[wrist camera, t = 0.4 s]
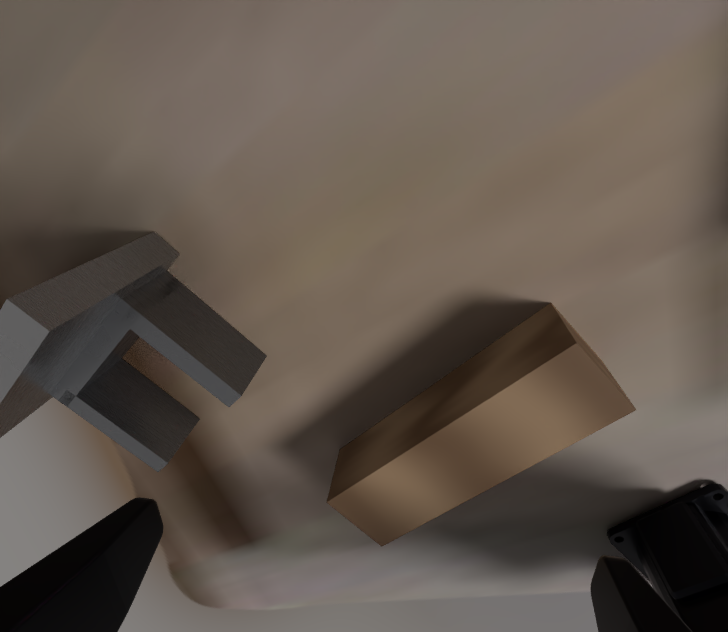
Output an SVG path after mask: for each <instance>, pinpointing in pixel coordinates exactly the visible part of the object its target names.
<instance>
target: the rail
mask: <svg viewBox="0 0 728 632" xmlns="http://www.w3.org/2000/svg"><path fill="white" fill-rule="evenodd" d="M635 410H636V409H635V407H634V406H633V405H632V403H631V402H630V400H629V399H628V397H627V396H626V394H625V393H624V392H623V390H622V389H621V387H620V386H619V384H618V383H617V382H616V380H615V379H614V377H613V376H612V374H611V373H610V372H609V370H608V369H607V367H606V366H605V364H604V363H603V362H602V360H601V359H600V358H599V357H598V356H597V355H596V353H595V352H594V351H593V350H592V349H591V348H590V347H589V345H588V344H587V343H586V342H585V341H584V340H583V339H582V337H581V336H580V335H579V334H578V333H577V332H576V331H575V329H574V328H573V327H572V326H571V325H570V324H569V323H568V322H567V320H566V319H565V318H564V317H563V316H562V315H561V314H560V312H559V311H558V310H557V309H556V308H555V307H554V306H553V304H552V303H550V304H548V305H547V306H545V307H544V308H542V309H541V310H540V311H538V312H537V313H535V314H534V315H532V316H531V317H529V318H528V319H527V320H525V321H524V322H522V323H521V324H519V325H518V326H517V327H515V328H514V329H512V330H511V331H509V332H508V333H506V334H505V335H504V336H502V337H501V338H499V339H498V340H496V341H495V342H494V343H492V344H491V345H489V346H488V347H486V348H485V349H483V350H482V351H481V352H479V353H478V354H476V355H475V356H473V357H472V358H471V359H469V360H468V361H466V362H465V363H463V364H462V365H460V366H459V367H458V368H456V369H455V370H453V371H452V372H450V373H449V374H448V375H446V376H445V377H443V378H442V379H440V380H439V381H438V382H436V383H435V384H433V385H432V386H430V387H429V388H427V389H426V390H425V391H423V392H422V393H420V394H419V395H417V396H416V397H415V398H413V399H412V400H410V401H409V402H407V403H406V404H404V405H403V406H402V407H400V408H399V409H397V410H396V411H394V412H393V413H392V414H390V415H389V416H387V417H386V418H384V419H383V420H381V421H380V422H379V423H377V424H376V425H374V426H373V427H371V428H370V429H369V430H367V431H366V432H364V433H363V434H361V435H360V436H358V437H357V438H356V439H354V440H353V441H351V442H350V443H348V444H347V445H346V446H344V447H343V448H341V449H340V451H339V455H338V459H337V463H336V467H335V471H334V475H333V479H332V483H331V487H330V491H329V495H328V499H327V503H328V504H329V505H330V506H332V507H333V508H334V509H335V510H337V511H338V512H339V513H340V514H342V515H343V516H344V517H345V518H347V519H348V520H349V521H350V522H352V523H353V524H354V525H355V526H357V527H358V528H359V529H360V530H362V531H363V532H364V533H365V534H367V535H368V536H369V537H370V538H372V539H373V540H374V541H375V542H377V543H378V544H379V545H380V546H384V545H386V544H387V543H389V542H391V541H393V540H395V539H397V538H399V537H400V536H402V535H404V534H406V533H408V532H410V531H412V530H414V529H415V528H417V527H419V526H421V525H423V524H425V523H427V522H428V521H430V520H432V519H434V518H436V517H438V516H440V515H441V514H443V513H445V512H447V511H449V510H451V509H453V508H455V507H456V506H458V505H460V504H462V503H464V502H466V501H468V500H469V499H471V498H473V497H475V496H477V495H479V494H481V493H482V492H484V491H486V490H488V489H490V488H492V487H494V486H495V485H497V484H499V483H501V482H503V481H505V480H507V479H509V478H510V477H512V476H514V475H516V474H518V473H520V472H522V471H523V470H525V469H527V468H529V467H531V466H533V465H535V464H536V463H538V462H540V461H542V460H544V459H546V458H548V457H549V456H551V455H553V454H555V453H557V452H559V451H561V450H563V449H564V448H566V447H568V446H570V445H572V444H574V443H576V442H577V441H579V440H581V439H583V438H585V437H587V436H589V435H590V434H592V433H594V432H596V431H598V430H600V429H602V428H603V427H605V426H607V425H609V424H611V423H613V422H615V421H617V420H618V419H620V418H622V417H624V416H626V415H628V414H630V413H631V412H633V411H635Z"/></svg>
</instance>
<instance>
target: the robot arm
mask: <svg viewBox="0 0 728 632" xmlns="http://www.w3.org/2000/svg"><path fill="white" fill-rule="evenodd" d="M162 533H163V523H162V519H161V516H160V512H159V509H158V506H157V503H156V501H155V500H153V499H147V498H135V499H133V500H131V501H129V502H128V503H126V504H125V505H123V506H122V507H120V508H119V509H117V510H116V511H114V512H113V513H111V514H110V515H108V516H107V517H105V518H104V519H102V520H101V521H99V522H98V523H96V524H95V525H93V526H92V527H90V528H89V529H87V530H85V531H84V532H82V533H81V534H79V535H78V536H76V537H75V538H74V539H72V540H70V541H69V542H67V543H66V544H65V545H63V546H61V547H60V548H58V549H57V550H55V551H54V552H52V553H51V554H49V555H48V556H46V557H45V558H43V559H42V560H40V561H39V562H37V563H36V564H34V565H33V566H31V567H30V568H28V569H27V570H25V571H24V572H22V573H21V574H19V575H18V576H16V577H15V578H13V579H12V580H10V581H8V582H7V583H6V584H4V585H3V586H1V587H0V632H118V630H119V628H120V626H121V624H122V622H123V620H124V619H125V617H126V615H127V613H128V611H129V609H130V607H131V605H132V602H133V600H134V598H135V595H136V594H137V591H138V589H139V587H140V584H141V582H142V580H143V578H144V575H145V573H146V571H147V569H148V566H149V564H150V562H151V560H152V557H153V555H154V553H155V551H156V548H157V546H158V544H159V542H160V539H161V537H162ZM607 536H608V538H609V541H610V542H611V544H612V545H614V546H615V547H616V548H617V549H618V550H619V551H620V552H621V553H622V554H623V555H624V556H625V557H626V558H627V559H628V560H629V561H630V562H632V563H633V564H634V565H635V566H636V567H637V568H638V569H639V570H640V571H641V572H642V573H643V574H644V575H645V576H646V577H647V578H648V579H649V580H650V582H651V584H652V587H653V588H652V587H651V585H650V584H649V583H648V582H647V581H646V580H645V579H644V578H643V577H642V576H641V574H640V573H639V572H638V571H637V570H636V569H635V568H634V567H633V566H632V565H631V563H630V562H629V561H627V560H626V559H624V558H621V557H615V556H606V555H603V556H601V557H600V558H599V560H598V563H597V566H596V569H595V572H594V575H593V578H592V582H591V596H592V602H593V607H594V612H595V617H596V622H597V627H598V632H728V491H727V490H726V489H725V488H724V487H723V486H722V485H720V484H711V485H708V486H705V487H703V488H701V489H699V490H696V491H694V492H692V493H690V494H687V495H685V496H683V497H681V498H678V499H676V500H674V501H672V502H669V503H667V504H665V505H663V506H660V507H658V508H656V509H654V510H651V511H649V512H647V513H645V514H642V515H640V516H638V517H636V518H633V519H631V520H629V521H627V522H624V523H622V524H620V525H618V526H615V527H613V528H611V529H609V530H608V532H607Z"/></svg>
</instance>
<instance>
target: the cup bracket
mask: <svg viewBox="0 0 728 632" xmlns="http://www.w3.org/2000/svg"><path fill="white" fill-rule="evenodd" d="M178 255H179V253H178V252H177V251H176V250H175V249H174V248H173V247H171V246H170V245H169V244H168V243H167V242H166V241H165V240H163V239H162V238H161V237H160V236H159V235H158V234H156V233H155V232H152V233H150V234H148V235H145V236H143V237H141V238H139V239H137V240H135V241H132V242H130V243H128V244H126V245H124V246H122V247H119V248H117V249H115V250H113V251H111V252H108V253H106V254H104V255H102V256H100V257H98V258H95V259H93V260H91V261H89V262H87V263H84V264H82V265H80V266H78V267H76V268H74V269H71V270H69V271H67V272H65V273H63V274H60V275H58V276H56V277H54V278H52V279H50V280H47V281H45V282H43V283H41V284H39V285H36V286H34V287H32V288H30V289H28V290H26V291H23V292H21V293H19V294H17V295H15V296H12V297H10V298H8V299H7V300H6V301H5V303H4V305H3V306H2V308H1V310H0V438H1V437H2V436H3V435H4V434H6V433H7V432H8V431H10V430H11V429H12V428H14V427H15V426H16V425H17V424H19V423H20V422H21V421H22V420H24V419H25V418H26V417H28V416H29V415H30V414H32V413H33V412H34V411H35V410H37V409H38V408H39V407H40V406H42V405H43V404H44V403H46V402H47V401H48V400H49V399H51V398H52V397H54V398H55V399H57V400H58V401H60V402H61V403H62V404H64V405H65V406H67V407H68V408H70V409H71V410H72V411H74V412H75V413H76V414H78V415H79V416H81V417H82V418H83V419H85V420H86V421H88V422H89V423H90V424H92V425H93V426H94V427H96V428H97V429H99V430H100V431H102V432H103V433H104V434H106V435H107V436H108V437H110V438H111V439H113V440H114V441H115V442H117V443H118V444H120V445H121V446H122V447H124V448H125V449H127V450H128V451H129V452H131V453H132V454H134V455H135V456H136V457H138V458H139V459H140V460H142V461H143V462H145V463H146V464H147V465H149V466H150V467H152V468H153V469H154V470H156V471H157V472H159V471H160V470H161V469H162V468H163V467H164V466H165V465H167V464H168V463H169V461H170V460H171V458H172V457H173V456H174V454H175V453H176V451H177V450H178V449H179V447H180V446H181V445H182V443H183V442H184V440H185V439H186V438H187V436H188V435H189V433H190V432H191V431H192V429H193V428H194V427H195V425H196V424H197V422H198V421H199V420H200V419H199V418H198V417H197V416H196V415H194V414H193V413H192V412H190V411H189V410H188V409H186V408H185V407H184V406H183V405H181V404H180V403H179V402H177V401H176V400H175V399H174V398H172V397H171V396H170V395H168V394H167V393H166V392H164V391H163V390H162V389H161V388H159V387H158V386H157V385H155V384H154V383H153V382H151V381H150V380H149V379H148V378H146V377H145V376H144V375H142V374H141V373H140V372H139V371H137V370H136V369H135V368H133V367H132V366H131V365H129V364H128V363H127V362H126V361H124V360H123V359H122V357H123V356H124V355H125V353H126V352H127V351H128V350H129V349H130V347H131V346H132V345H133V344H134V343H135V341H136V340H137V339H138V338H139V337H141V338H142V339H143V340H145V341H146V342H147V343H148V344H150V345H151V346H152V347H153V348H155V349H156V350H157V351H159V352H160V353H161V354H162V355H164V356H165V357H166V358H167V359H169V360H170V361H171V362H172V363H174V364H175V365H176V366H177V367H179V368H180V369H181V370H182V371H184V372H185V373H186V374H187V375H189V376H190V377H191V378H192V379H194V380H195V381H196V382H198V383H199V384H200V385H201V386H203V387H204V388H205V389H206V390H208V391H209V392H210V393H211V394H213V395H214V396H215V397H216V398H218V399H219V400H220V401H221V402H223V403H224V404H225V405H226V406H228V407H230V406H231V405H232V404H233V403H234V402H235V401H236V400H238V399H239V398H240V397H241V396H242V394H243V393H244V391H245V390H246V388H247V386H248V385H249V383H250V382H251V380H252V379H253V377H254V375H255V374H256V372H257V371H258V369H259V368H260V366H261V364H262V363H263V361H264V360H265V358H266V357H267V356H266V355H265V354H264V353H263V352H262V351H260V350H259V349H258V348H257V347H256V346H255V345H253V344H252V343H251V342H250V341H249V340H248V339H246V338H245V337H244V336H243V335H242V334H241V333H239V332H238V331H237V330H236V329H235V328H233V327H232V326H231V325H230V324H229V323H228V322H226V321H225V320H224V319H223V318H222V317H221V316H219V315H218V314H217V313H216V312H215V311H213V310H212V309H211V308H210V307H209V306H208V305H206V304H205V303H204V302H203V301H202V300H201V299H199V298H198V297H197V296H196V295H195V294H193V293H192V292H191V291H190V290H189V289H188V288H186V287H185V286H184V285H183V284H182V283H181V282H179V281H178V280H177V279H176V278H175V277H173V276H172V275H171V274H170V273H169V272H168V271H166V270H167V269H168V268H169V267H170V265H171V264H172V263H173V262H174V260H175V259H176V258H177V257H178Z"/></svg>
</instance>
